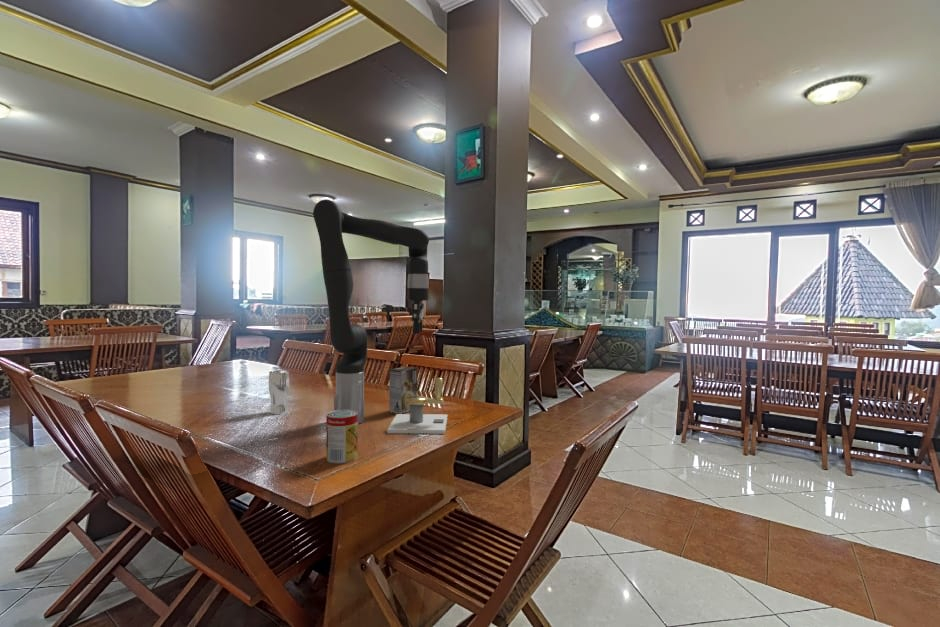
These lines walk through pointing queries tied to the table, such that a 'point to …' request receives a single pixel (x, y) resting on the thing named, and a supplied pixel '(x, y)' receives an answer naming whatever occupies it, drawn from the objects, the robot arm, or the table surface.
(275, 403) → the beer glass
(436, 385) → the coupling
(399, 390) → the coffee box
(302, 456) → the table surface
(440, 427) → the base
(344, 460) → the canned food
